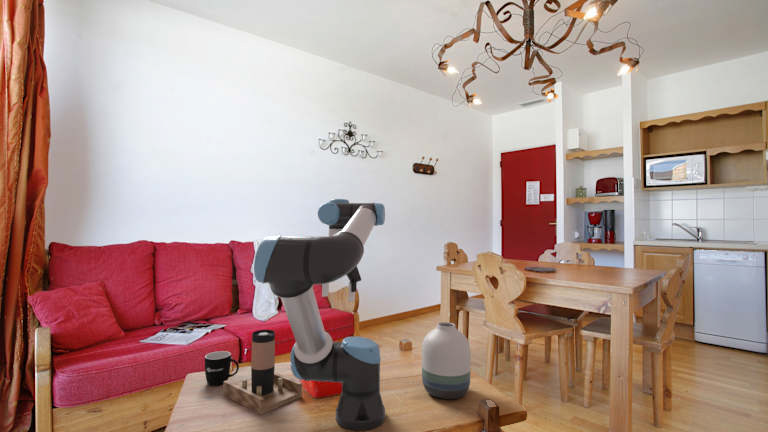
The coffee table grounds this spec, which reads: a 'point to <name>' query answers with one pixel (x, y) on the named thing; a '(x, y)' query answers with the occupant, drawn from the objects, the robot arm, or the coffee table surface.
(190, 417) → the coffee table surface
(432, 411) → the coffee table surface
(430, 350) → the vase
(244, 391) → the peg stand
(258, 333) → the travel mug
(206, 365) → the mug
